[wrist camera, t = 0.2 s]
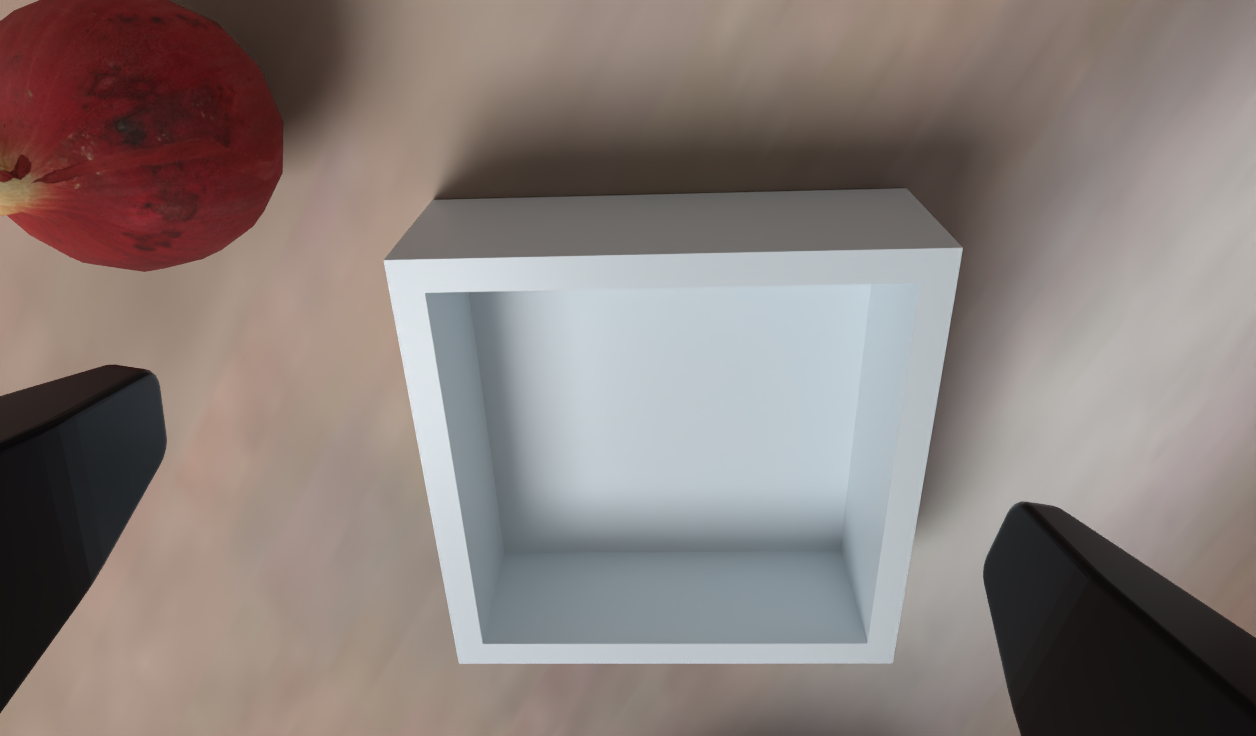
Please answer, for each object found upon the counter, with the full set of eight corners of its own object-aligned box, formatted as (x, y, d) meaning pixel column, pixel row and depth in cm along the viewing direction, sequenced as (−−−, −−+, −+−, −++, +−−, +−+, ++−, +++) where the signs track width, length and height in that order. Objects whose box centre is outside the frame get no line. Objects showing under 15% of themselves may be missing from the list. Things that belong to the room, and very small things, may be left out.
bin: (858, 557, 28) (892, 663, 24) (486, 559, 28) (458, 663, 24) (906, 187, 22) (962, 247, 18) (432, 199, 22) (383, 259, 18)
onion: (266, -54, 19) (43, -41, 12) (366, 180, 22) (229, 301, 15) (54, 16, 20) (-269, 65, 13) (174, 233, 23) (-41, 371, 16)
